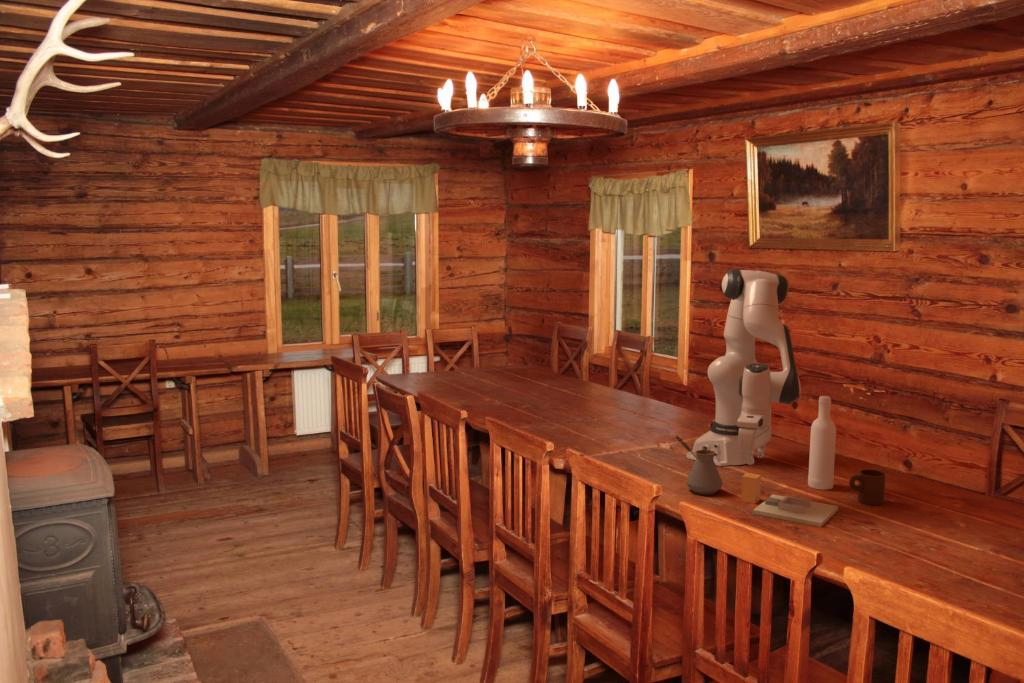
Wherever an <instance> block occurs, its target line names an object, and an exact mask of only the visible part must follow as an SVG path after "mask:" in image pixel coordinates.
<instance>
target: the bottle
mask: <svg viewBox="0 0 1024 683" xmlns="http://www.w3.org/2000/svg"><path fill="white" fill-rule="evenodd" d="M831 405H832V398H831V396H828V395H821V396H819V398H818V417H816V419H815V420H813V422H812V424H811V426H810V438H809V442H810V443H809V457H808V458H809V459H808V476H807V485H808V487H810V488H812V489H814V490H822V491H827V490H828V491H829V490H832V489H833V488H834V481H835V479H834V478H835V477H834V475H835V474H834V473H835V460H836V459H835V457H836V444H837V443H836V437H837V426H836V425H835V422H834V421H833V420H832V418H831V407H832V406H831Z"/></svg>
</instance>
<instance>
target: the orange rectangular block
mask: <svg viewBox="0 0 1024 683" xmlns="http://www.w3.org/2000/svg"><path fill="white" fill-rule="evenodd" d="M761 488H762V475H761V474H756V473H751V472H746V473H744V475H743V474H742V475H741V494H740V501H741V502H744V503H745V502H746V503H750V504H757V503H758V502H759V501H760V500H761V491H762V490H761Z"/></svg>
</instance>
